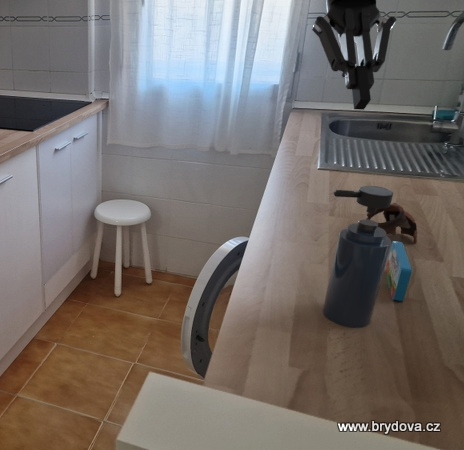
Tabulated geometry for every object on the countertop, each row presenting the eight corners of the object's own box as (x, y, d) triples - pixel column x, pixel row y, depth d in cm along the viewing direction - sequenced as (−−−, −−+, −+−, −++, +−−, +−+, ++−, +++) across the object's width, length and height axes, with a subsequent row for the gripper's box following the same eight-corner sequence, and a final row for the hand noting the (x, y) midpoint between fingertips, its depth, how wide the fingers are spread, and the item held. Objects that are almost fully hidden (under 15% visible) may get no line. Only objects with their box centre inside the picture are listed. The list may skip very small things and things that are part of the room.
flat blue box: (385, 270, 102) (392, 240, 99) (394, 271, 101) (402, 241, 99) (392, 300, 91) (401, 268, 89) (402, 302, 91) (412, 270, 88)
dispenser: (361, 306, 90) (384, 215, 84) (377, 329, 84) (403, 233, 77) (317, 302, 91) (336, 212, 85) (329, 326, 85) (351, 230, 78)
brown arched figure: (422, 252, 109) (411, 220, 106) (371, 261, 115) (358, 231, 112) (418, 218, 118) (407, 188, 115) (370, 227, 124) (359, 199, 121)
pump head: (381, 207, 82) (386, 186, 81) (392, 218, 78) (398, 196, 77) (326, 204, 83) (330, 183, 82) (334, 215, 79) (339, 193, 78)
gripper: (380, 6, 97) (395, 118, 88) (303, 6, 99) (311, 116, 90) (399, -28, 90) (418, 91, 81) (317, -27, 92) (327, 89, 83)
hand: (362, 104), depth 86 cm, fingers closed
